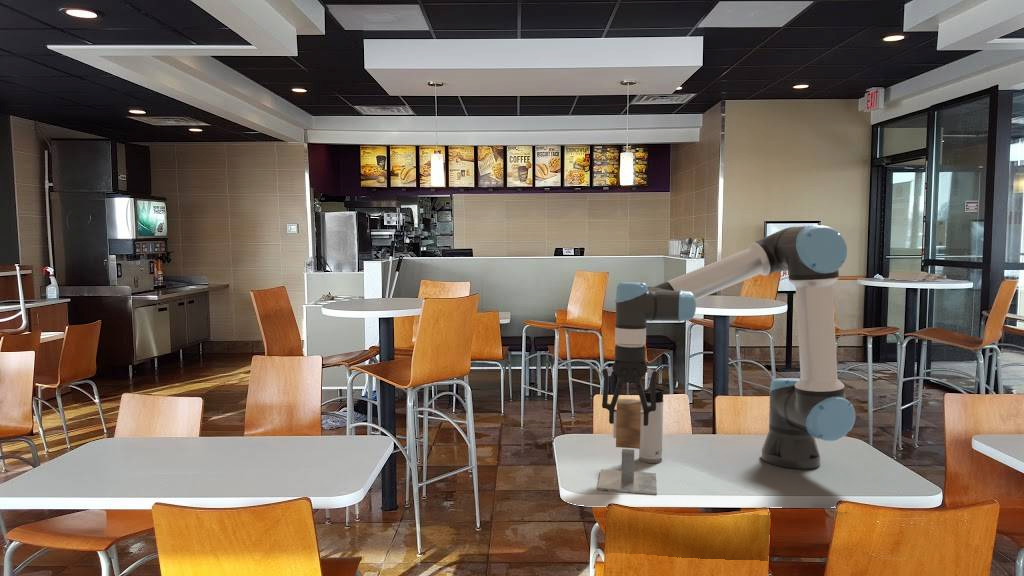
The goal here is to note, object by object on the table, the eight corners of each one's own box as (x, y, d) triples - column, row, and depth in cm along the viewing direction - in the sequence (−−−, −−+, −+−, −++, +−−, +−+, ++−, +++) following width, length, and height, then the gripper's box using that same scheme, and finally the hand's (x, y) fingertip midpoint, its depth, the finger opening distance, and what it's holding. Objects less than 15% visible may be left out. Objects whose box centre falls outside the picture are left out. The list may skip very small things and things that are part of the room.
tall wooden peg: (640, 442, 169) (640, 399, 168) (639, 448, 163) (640, 404, 163) (616, 440, 170) (617, 398, 169) (615, 447, 164) (616, 403, 164)
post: (655, 475, 173) (656, 444, 172) (656, 494, 159) (657, 461, 159) (601, 471, 175) (601, 441, 175) (597, 490, 162) (598, 457, 161)
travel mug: (663, 464, 182) (665, 391, 181) (638, 462, 183) (640, 390, 182) (663, 457, 188) (664, 386, 187) (639, 455, 189) (640, 385, 188)
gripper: (668, 344, 167) (666, 435, 168) (593, 341, 171) (591, 431, 172) (670, 348, 160) (667, 444, 161) (590, 345, 163) (589, 439, 165)
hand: (628, 437), depth 167 cm, fingers closed on tall wooden peg, 6 cm apart
